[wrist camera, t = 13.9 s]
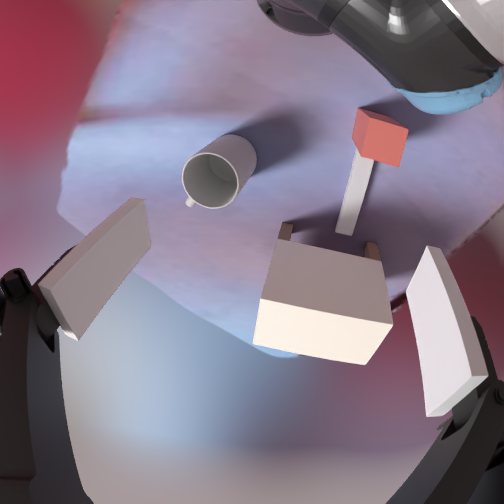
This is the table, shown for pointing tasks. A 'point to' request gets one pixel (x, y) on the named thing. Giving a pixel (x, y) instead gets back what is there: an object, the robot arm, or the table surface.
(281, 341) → the cabinet
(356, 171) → the red mallet
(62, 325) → the robot arm
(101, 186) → the table surface
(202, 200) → the mug
